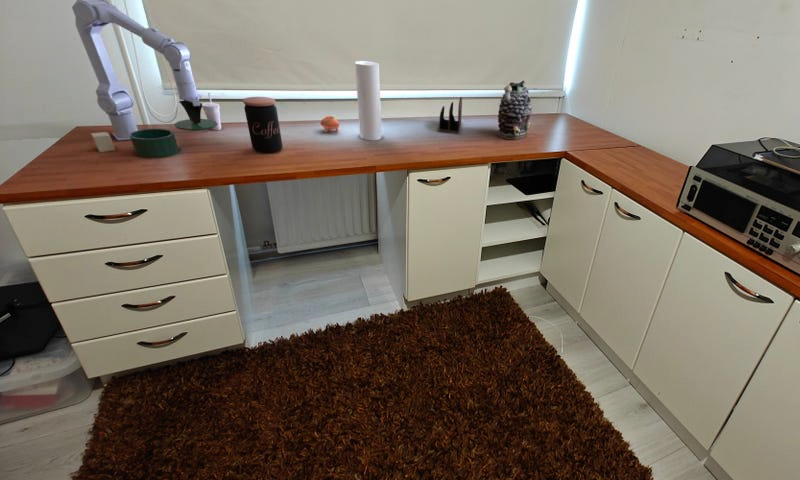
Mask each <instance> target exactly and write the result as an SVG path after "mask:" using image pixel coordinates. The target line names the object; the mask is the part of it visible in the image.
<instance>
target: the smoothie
mask: <svg viewBox="0 0 800 480" xmlns="http://www.w3.org/2000/svg"><path fill="white" fill-rule="evenodd" d="M207 95H208V99H209V102H203V103H201V104H202V108H201V109H203V111H204V114H205V116H206V119H208V120H213V121H216V122H217V124H218V125H217V126H216V127H214V128H211V131H220V130H222V122H221V114H220V113H221V112H220V106H221V105H220V104H219V103H217V102H213V101H212V97H211V94H210V92H208V93H207Z"/></svg>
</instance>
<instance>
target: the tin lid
mask: <svg viewBox="0 0 800 480" xmlns="http://www.w3.org/2000/svg"><path fill="white" fill-rule="evenodd" d="M190 117H191V116H190ZM191 120H192V119H191ZM191 120H190V118H188V119H182V120H179V121H176V122H174V127H175V128H176V129H179V130H183V131H191V132H192V131H193V132H194V131H195V132H196V131H207V130H210V129H211V128H214V127H216V126H217V125H218V124H217V122H216V121H213V120H208V119H207V118H201V123H198V124H194V123H193V121H192V122H191ZM211 130H212V129H211Z"/></svg>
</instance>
